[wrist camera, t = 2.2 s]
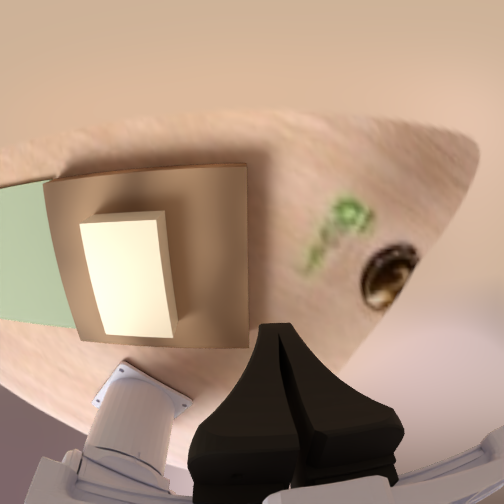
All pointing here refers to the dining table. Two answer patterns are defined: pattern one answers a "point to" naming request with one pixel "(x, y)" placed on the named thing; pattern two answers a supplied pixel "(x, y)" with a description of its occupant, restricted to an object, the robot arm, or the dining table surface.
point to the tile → (131, 273)
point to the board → (179, 244)
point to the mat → (29, 260)
